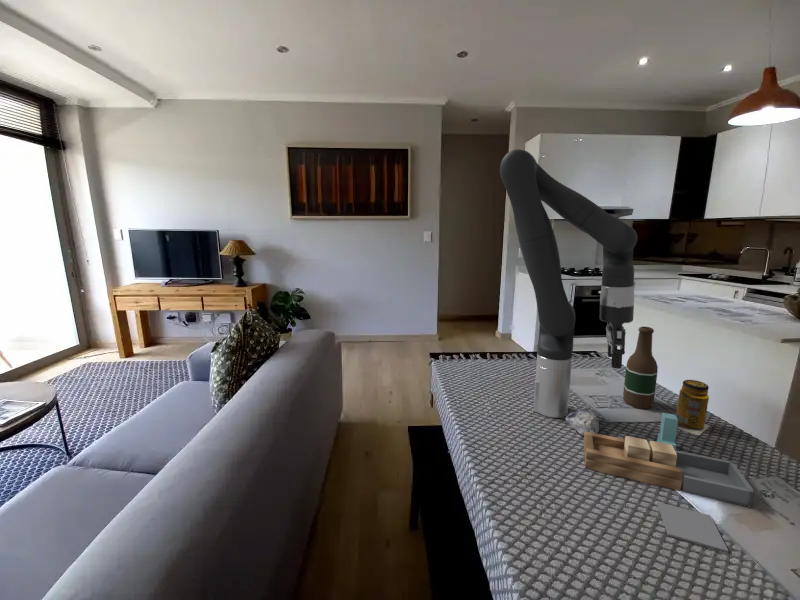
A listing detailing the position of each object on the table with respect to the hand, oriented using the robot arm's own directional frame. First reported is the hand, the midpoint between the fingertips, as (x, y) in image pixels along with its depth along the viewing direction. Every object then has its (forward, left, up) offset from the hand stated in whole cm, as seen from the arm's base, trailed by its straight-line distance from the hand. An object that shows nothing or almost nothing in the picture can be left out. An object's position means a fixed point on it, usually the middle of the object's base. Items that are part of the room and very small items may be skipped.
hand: (614, 362), depth 93 cm
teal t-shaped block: (+11, -8, -18) cm, 22 cm away
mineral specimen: (-7, -7, -18) cm, 20 cm away
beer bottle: (+9, +16, -18) cm, 25 cm away
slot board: (+2, -19, -17) cm, 26 cm away
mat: (+9, -34, -17) cm, 40 cm away
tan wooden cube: (+3, -19, -15) cm, 25 cm away
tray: (+16, -19, -17) cm, 31 cm away
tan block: (+8, -19, -15) cm, 26 cm away
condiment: (+19, +7, -18) cm, 27 cm away
